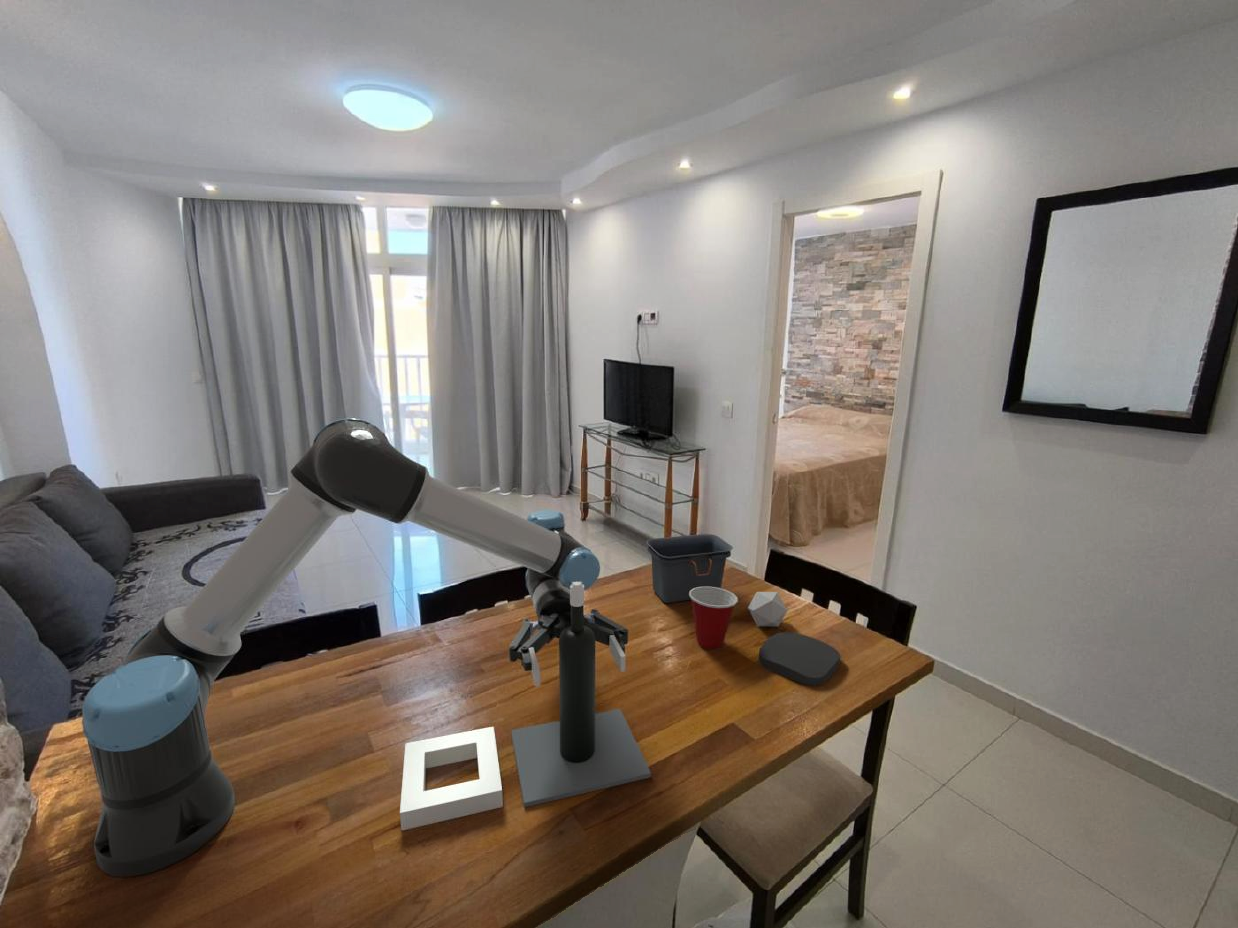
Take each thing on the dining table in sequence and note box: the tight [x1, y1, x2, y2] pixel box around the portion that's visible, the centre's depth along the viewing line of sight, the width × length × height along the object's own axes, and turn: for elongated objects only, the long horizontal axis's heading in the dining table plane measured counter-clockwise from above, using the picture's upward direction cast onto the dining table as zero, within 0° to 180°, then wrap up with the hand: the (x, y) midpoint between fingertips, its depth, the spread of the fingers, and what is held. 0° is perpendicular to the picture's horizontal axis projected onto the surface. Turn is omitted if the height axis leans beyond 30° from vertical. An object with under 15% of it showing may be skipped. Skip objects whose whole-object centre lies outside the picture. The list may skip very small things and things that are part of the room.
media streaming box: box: [758, 631, 841, 687], centre depth 119 cm, size 15×15×3 cm
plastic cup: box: [689, 586, 739, 650], centre depth 125 cm, size 11×11×12 cm
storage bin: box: [645, 533, 734, 604], centre depth 147 cm, size 21×16×14 cm
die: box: [747, 591, 788, 628], centre depth 134 cm, size 8×9×10 cm
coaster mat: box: [510, 708, 652, 808], centre depth 92 cm, size 20×16×1 cm
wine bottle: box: [558, 581, 597, 763], centre depth 89 cm, size 6×6×30 cm
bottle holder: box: [399, 726, 504, 831], centre depth 86 cm, size 14×14×3 cm
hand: (581, 671), depth 86 cm, fingers open, 13 cm apart
